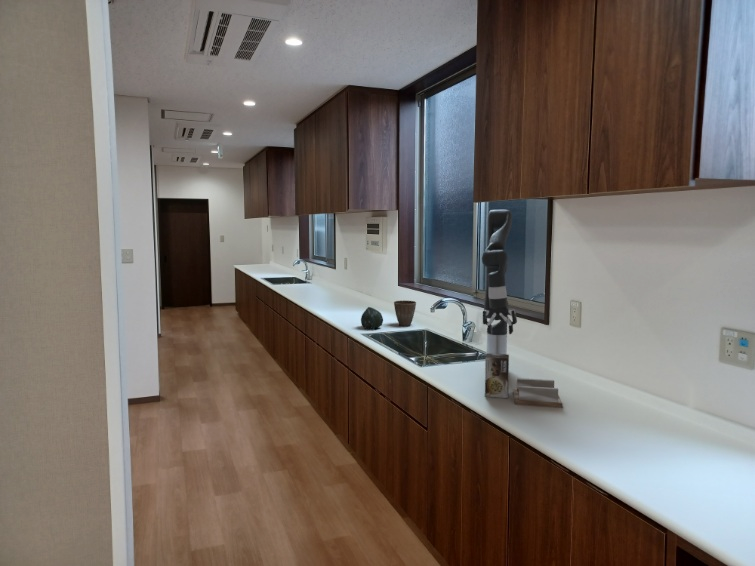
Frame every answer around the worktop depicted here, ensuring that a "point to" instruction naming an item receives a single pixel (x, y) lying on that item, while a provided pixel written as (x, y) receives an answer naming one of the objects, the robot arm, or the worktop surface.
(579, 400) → the worktop surface
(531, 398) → the clevis cradle
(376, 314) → the squash
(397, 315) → the plant pot
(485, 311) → the robot arm
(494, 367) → the coffee box
